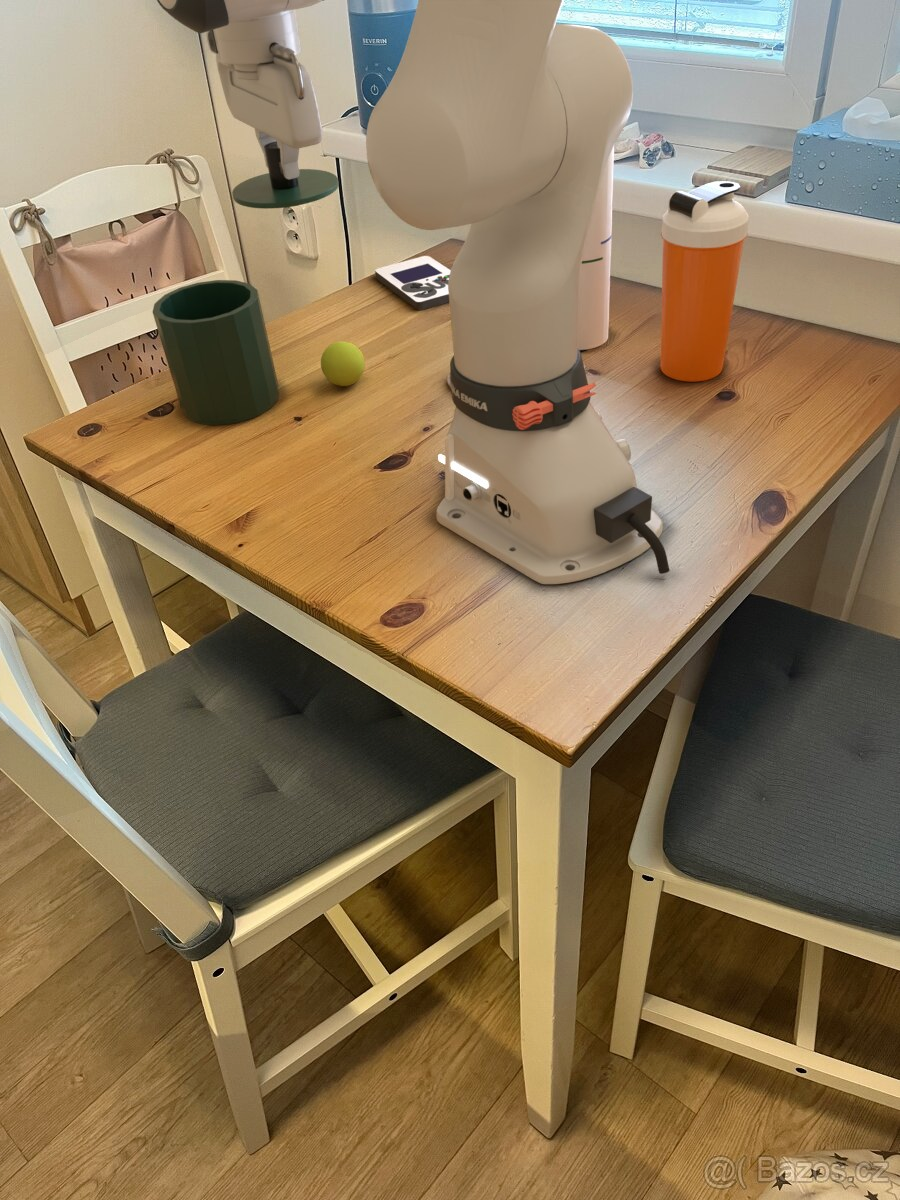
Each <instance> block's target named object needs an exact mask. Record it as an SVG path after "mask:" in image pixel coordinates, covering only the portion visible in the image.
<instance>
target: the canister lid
mask: <svg viewBox="0 0 900 1200" xmlns="http://www.w3.org/2000/svg"><path fill="white" fill-rule="evenodd" d="M264 149H265V155H266V160H267V165H268V168H267V170H268V173H267V172H266V173H264V174H260V175H257V176H253V177H250V178H248V179H246V180H244V181H242V182H240V183H239V184H237V185H236V186H235V187H234V188H233V189H232V192H231V194H232V199H233V201H234V202H235V203H236V204H237V205H240V206H243V207H246V208H251V209H263V210H264V209H267V210H268V209H284V208H286V209H287V208H292V207H298V206H302V205H306V204H310V203H314V202H317V201H319V200H322V199H324V198H326V197H329V196H331V195H332V194H334V193H335V192H336V191H337V190H338V189H339V186H340V185H339V179H338V176H337V175H335V174H334V173H332V172H330V171H326V170H321V169H314V168H313V169H311V168H299V176H298V177H297V178H293V179H286V178H285V177H283V176H282V175H281V173H280V167H279V161H281V157H280V148H278V145H277V141H276V142H271V143H268V144H266V145H265V146H264Z"/></svg>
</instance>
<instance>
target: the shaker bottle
mask: <svg viewBox="0 0 900 1200" xmlns="http://www.w3.org/2000/svg"><path fill="white" fill-rule="evenodd" d="M740 189H741V185H740V184H739V183H738V182H734V181H729V180H727V181H725V180H724V181H723V180H722V181H721V180H719V181H712V182H708V183H706V184H704V185H703V184H702V185H700V186H699V187H696V188H695V189H692V190H690V191H688V192H684V191H681V190H676V191H674V192H673V193H672V194H671V195H670V197H669V199H668V206H667V207H668V208H667V209H666V212H664V214H662V217H661V218H662V219H661V231H660V237H661V238H662V271H661V272H662V273H661V274H662V275H661V281H662V282H661V283H662V284H661V323H660V324H661V326H660V370H661V373H663V374H664V375H665V376H666V377H668V378H670V379H673V380H676V381H681V382H689V383H690V382H691V383H692V382H693V383H695V382H696V383H697V382H704V381H709V380H712V379H714V378H716V377H717V376H719V375H720V374H721V373H722V371H723V367H724V361H725V356H726V350H727V344H728V339H729V332H730V326H731V321H732V316H733V315H732V313H733V308H734V302H735V296H736V291H737V284H738V279H739V273H740V267H741V261H742V254H743V248H744V243H745V239H746V238H747V237H748V229H749V222H750V220H749V219H750V215H749V214H748V212H747V209H746V208H745V207H744V205H742V203H740V202H738V201H737V200H736V199H734V195H735V193H736V192H739V191H740Z"/></svg>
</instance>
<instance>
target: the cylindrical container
mask: <svg viewBox="0 0 900 1200" xmlns="http://www.w3.org/2000/svg"><path fill="white" fill-rule="evenodd" d="M614 162H615V145H614V146H613V148H612V150H611V153H610V155H609V157H608V160H607V163H606V166H605V168H604V171H603V175H602V178H601V182H600V185H599V189H598V193H597V196H596V200H595V204H594V208H593V212H592V216H591V220H590V224H589V228H588V232H587V236H586V241H585V246H584V250H583V256H582V262H581V269H580V278H579V301H578V343H577V348H578V350H579V351H584V350H591V349H595V348H598V347H601V346H603V345H604V344H605V343H606V342H607V341H608V339H609V323H610V293H611V291H610V288H611V263H612V262H611V260H612V259H611V258H612V234H613V232H612V230H613V198H614V197H613V196H614V194H613V193H614V166H615V165H614V164H615V163H614Z"/></svg>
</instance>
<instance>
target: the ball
mask: <svg viewBox="0 0 900 1200" xmlns="http://www.w3.org/2000/svg"><path fill="white" fill-rule="evenodd" d="M365 363H366V362H365V357H364V355H363V353H362V351H361V350H360V348H358V346H356V344H354V343H351V342H349V341H345V340H339V341H335V342H332V343H331V344H329V345H327V347H326V348H325V349H324V351H323V353H322V355H321V358H320V367H321V372H322V374H323V375H324V377H325V378H326V379H327V381H328V382H330V383H331V384H333V385H335V386H339V387H347V386H351V385H353V384H355V383H357V382H358V381H359V380H360V378H362V376H363V374H364V371H365Z"/></svg>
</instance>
